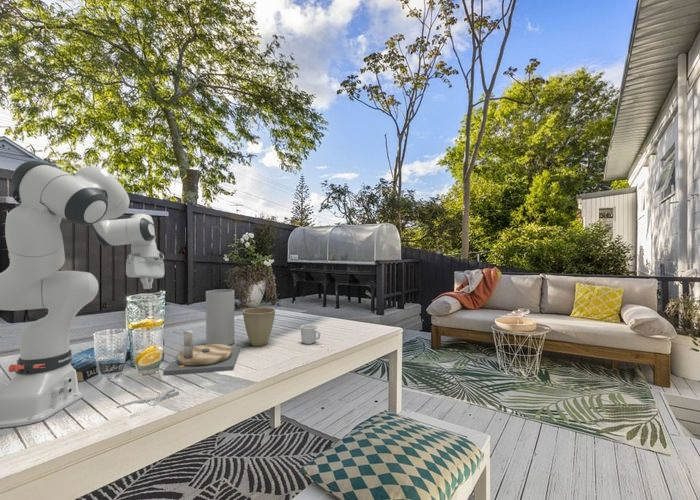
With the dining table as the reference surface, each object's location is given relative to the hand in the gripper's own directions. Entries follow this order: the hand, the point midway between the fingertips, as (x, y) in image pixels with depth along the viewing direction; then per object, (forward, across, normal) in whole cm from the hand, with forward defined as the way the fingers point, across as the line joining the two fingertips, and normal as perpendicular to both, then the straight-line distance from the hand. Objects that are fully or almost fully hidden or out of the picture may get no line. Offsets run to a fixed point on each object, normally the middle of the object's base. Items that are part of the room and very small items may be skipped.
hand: (147, 288), depth 134 cm
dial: (+30, +4, -18) cm, 35 cm away
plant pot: (+32, +28, -33) cm, 54 cm away
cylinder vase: (+29, +28, -15) cm, 43 cm away
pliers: (+37, -30, -16) cm, 50 cm away
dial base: (+32, +5, -18) cm, 37 cm away
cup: (+35, +30, -57) cm, 73 cm away
